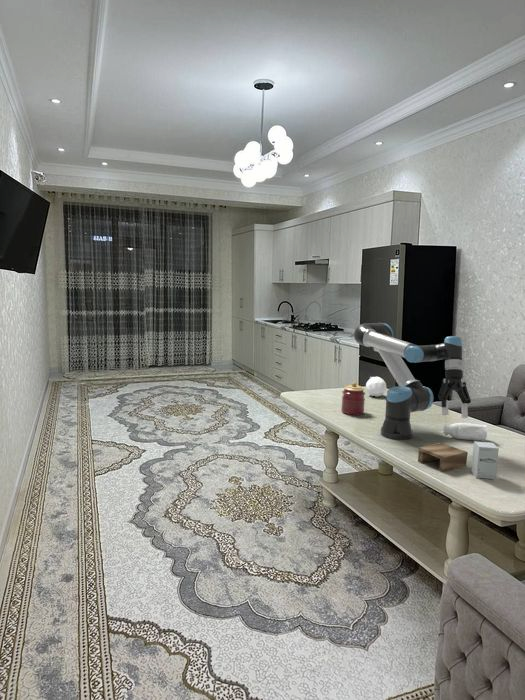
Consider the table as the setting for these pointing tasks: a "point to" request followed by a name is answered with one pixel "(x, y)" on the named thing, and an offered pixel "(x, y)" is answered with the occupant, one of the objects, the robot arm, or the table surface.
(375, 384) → the geodesic sphere
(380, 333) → the robot arm
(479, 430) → the white bottle
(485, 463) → the supplement box
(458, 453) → the shelf
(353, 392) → the canister
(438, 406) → the table surface
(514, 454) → the table surface
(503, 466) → the table surface
